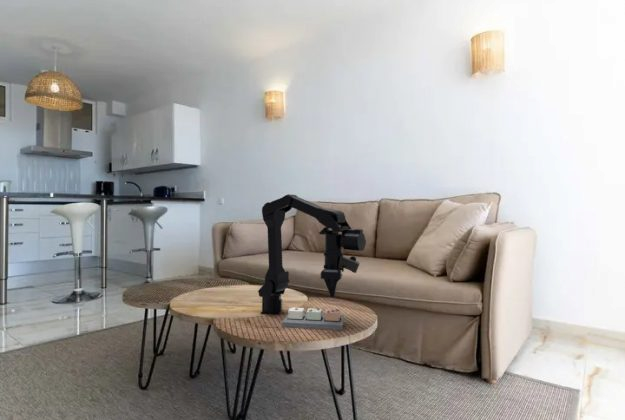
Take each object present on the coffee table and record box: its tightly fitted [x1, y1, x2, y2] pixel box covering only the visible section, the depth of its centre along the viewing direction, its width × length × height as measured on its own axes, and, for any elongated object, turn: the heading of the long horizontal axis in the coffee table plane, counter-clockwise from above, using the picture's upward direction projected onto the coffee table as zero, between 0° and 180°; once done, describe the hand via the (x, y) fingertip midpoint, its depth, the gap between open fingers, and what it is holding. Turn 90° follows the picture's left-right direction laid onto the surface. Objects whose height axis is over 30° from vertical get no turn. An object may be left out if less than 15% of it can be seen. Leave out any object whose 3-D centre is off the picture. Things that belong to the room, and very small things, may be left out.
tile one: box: [287, 306, 305, 319], centre depth 131 cm, size 4×4×3 cm
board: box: [281, 312, 345, 331], centre depth 130 cm, size 19×12×2 cm, turn 82°
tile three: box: [324, 308, 341, 322], centre depth 129 cm, size 4×4×3 cm
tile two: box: [306, 307, 323, 320], centre depth 130 cm, size 4×4×3 cm
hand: (332, 296), depth 129 cm, fingers closed
